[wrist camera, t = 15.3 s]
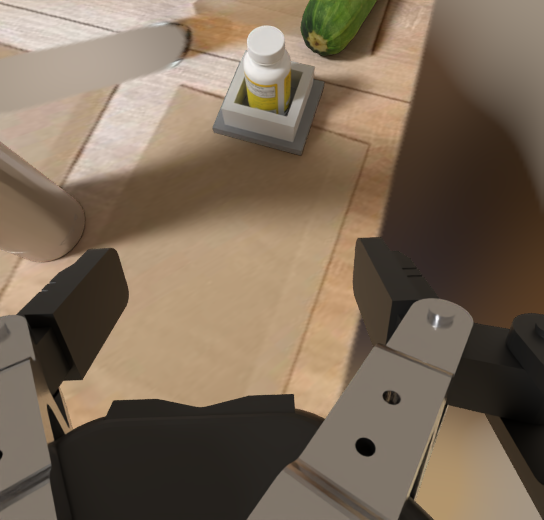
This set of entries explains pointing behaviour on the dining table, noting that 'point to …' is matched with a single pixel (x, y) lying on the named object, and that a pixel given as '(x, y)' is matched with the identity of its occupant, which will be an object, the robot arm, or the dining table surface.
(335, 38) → the vegetable
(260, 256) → the dining table surface
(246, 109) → the board
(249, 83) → the supplement bottle
